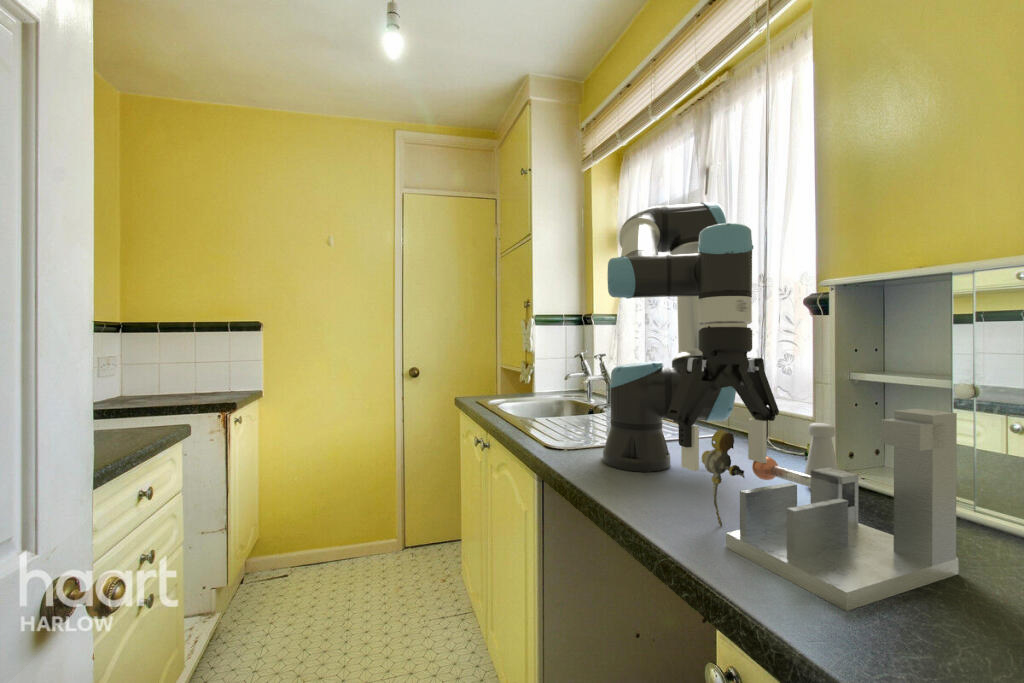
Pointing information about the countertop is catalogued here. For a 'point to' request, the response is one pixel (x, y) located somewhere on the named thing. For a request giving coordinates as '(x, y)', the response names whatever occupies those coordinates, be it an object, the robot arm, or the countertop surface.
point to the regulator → (720, 461)
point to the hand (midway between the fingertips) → (724, 464)
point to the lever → (781, 473)
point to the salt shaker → (821, 448)
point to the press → (853, 546)
